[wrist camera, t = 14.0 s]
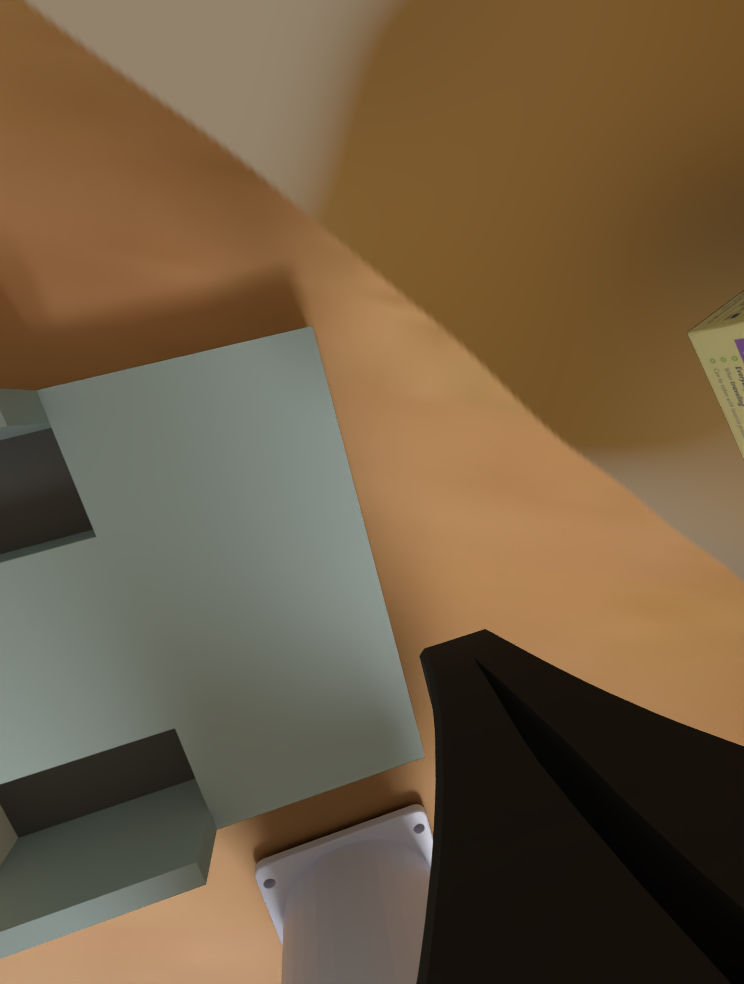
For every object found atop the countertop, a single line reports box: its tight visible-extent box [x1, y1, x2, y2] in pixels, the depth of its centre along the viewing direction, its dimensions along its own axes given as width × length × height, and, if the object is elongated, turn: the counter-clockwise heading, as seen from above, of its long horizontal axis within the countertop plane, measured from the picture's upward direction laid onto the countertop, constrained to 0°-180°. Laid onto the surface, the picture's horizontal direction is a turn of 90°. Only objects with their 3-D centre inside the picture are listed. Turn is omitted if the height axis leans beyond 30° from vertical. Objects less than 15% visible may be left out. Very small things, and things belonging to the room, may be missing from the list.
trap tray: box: [0, 326, 425, 959], centre depth 15 cm, size 17×24×4 cm
